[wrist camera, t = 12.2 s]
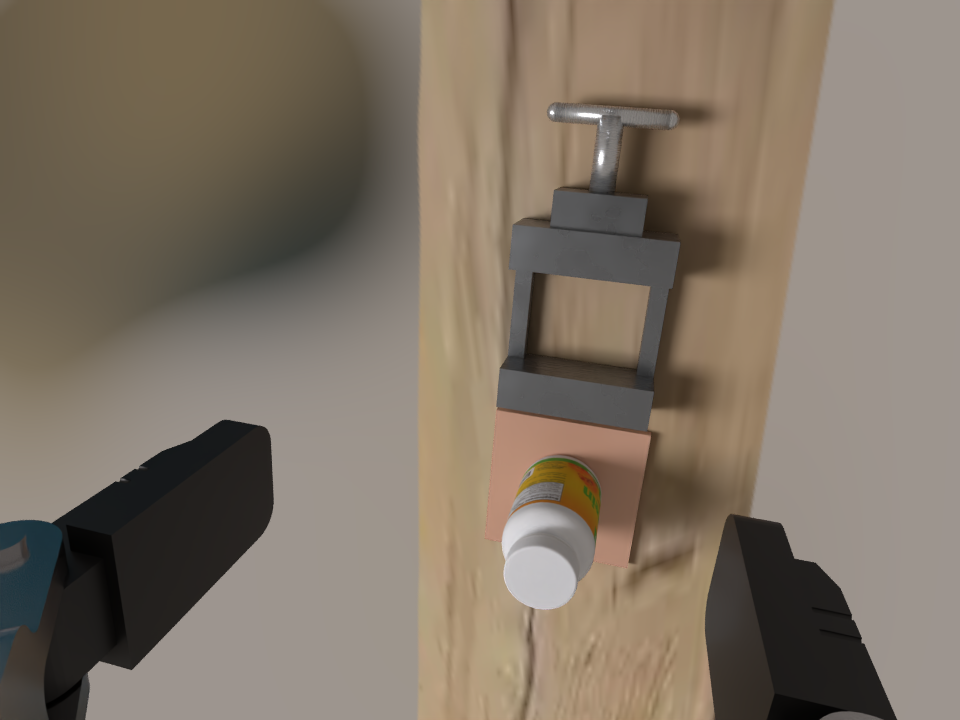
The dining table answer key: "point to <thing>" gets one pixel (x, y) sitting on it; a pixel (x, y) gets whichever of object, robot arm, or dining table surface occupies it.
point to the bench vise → (593, 255)
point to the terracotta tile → (596, 445)
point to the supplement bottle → (551, 531)
